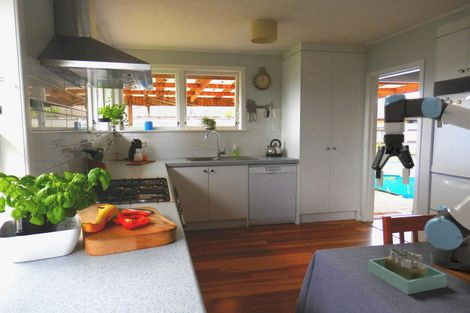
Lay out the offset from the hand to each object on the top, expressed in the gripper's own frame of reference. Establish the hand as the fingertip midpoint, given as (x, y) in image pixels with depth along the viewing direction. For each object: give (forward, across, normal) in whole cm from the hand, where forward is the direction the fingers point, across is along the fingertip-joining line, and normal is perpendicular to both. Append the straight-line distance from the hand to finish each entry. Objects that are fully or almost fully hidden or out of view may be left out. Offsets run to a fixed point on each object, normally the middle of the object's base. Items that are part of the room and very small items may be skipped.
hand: (392, 185), depth 130 cm
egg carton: (+25, +10, +16) cm, 31 cm away
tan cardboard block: (+30, +10, +16) cm, 36 cm away
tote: (+31, +10, +16) cm, 37 cm away
